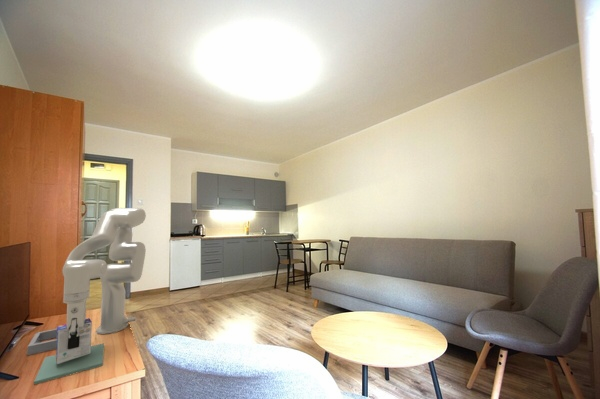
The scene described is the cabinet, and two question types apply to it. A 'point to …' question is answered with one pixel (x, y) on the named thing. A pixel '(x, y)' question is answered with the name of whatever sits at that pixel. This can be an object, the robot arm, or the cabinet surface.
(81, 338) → the ink cartridge box
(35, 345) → the pocket holder
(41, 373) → the place mat
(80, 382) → the cabinet surface
